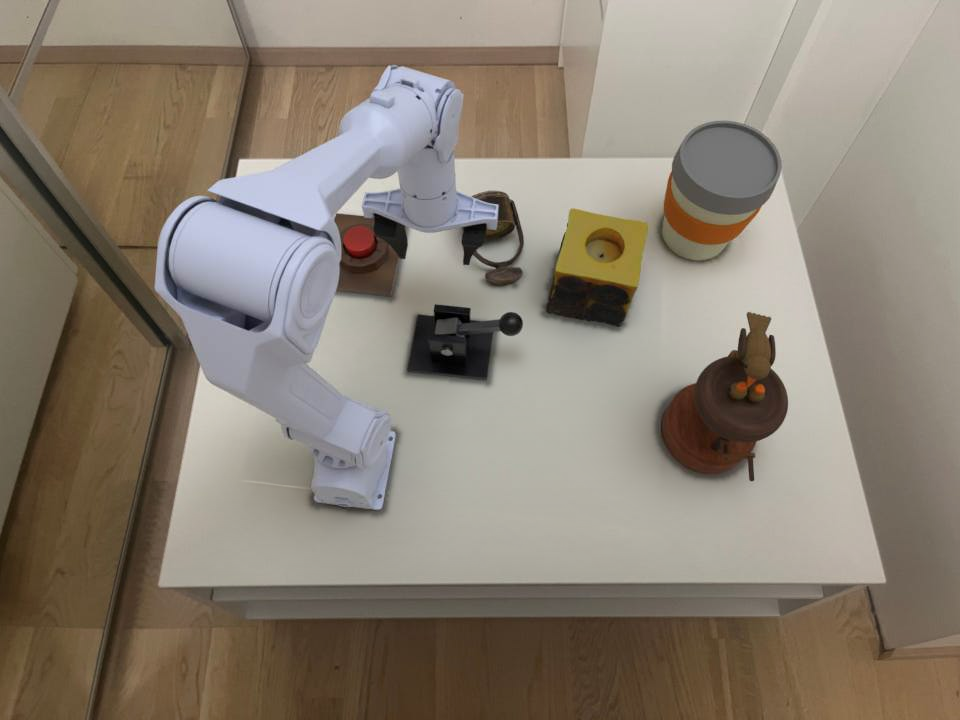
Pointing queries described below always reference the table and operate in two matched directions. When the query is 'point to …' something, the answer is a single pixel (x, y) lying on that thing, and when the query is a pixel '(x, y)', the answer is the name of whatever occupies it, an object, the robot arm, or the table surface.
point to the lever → (480, 326)
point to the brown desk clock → (504, 227)
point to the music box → (728, 406)
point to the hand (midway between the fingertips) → (435, 255)
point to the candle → (597, 267)
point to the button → (359, 242)
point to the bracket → (449, 347)
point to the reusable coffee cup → (717, 187)
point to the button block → (366, 262)
